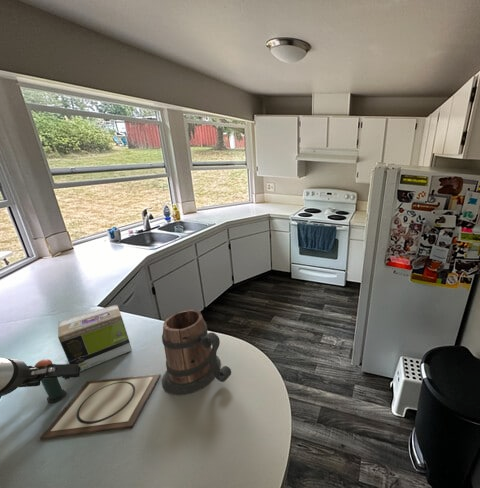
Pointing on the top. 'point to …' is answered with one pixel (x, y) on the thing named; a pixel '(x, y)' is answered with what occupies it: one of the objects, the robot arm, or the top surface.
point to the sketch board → (103, 406)
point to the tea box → (94, 337)
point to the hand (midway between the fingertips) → (59, 376)
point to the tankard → (190, 354)
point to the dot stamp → (51, 385)
